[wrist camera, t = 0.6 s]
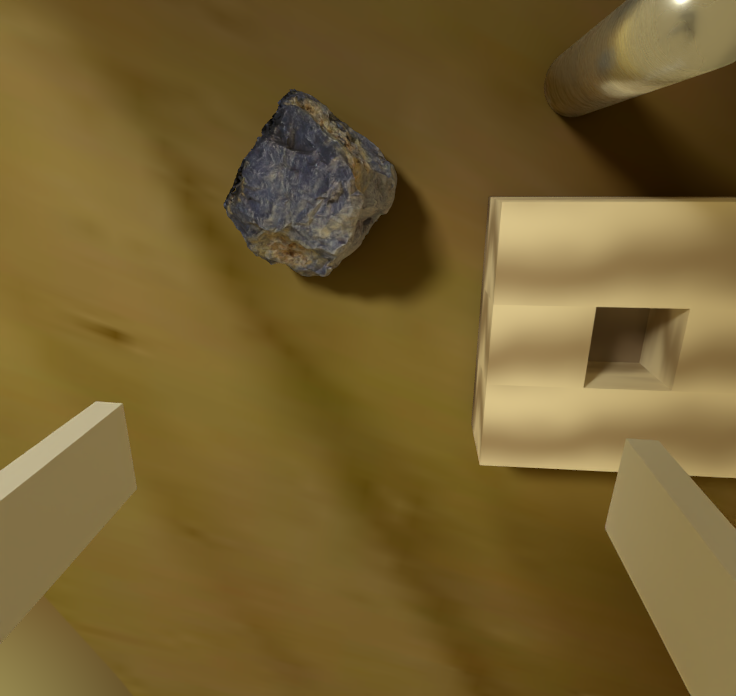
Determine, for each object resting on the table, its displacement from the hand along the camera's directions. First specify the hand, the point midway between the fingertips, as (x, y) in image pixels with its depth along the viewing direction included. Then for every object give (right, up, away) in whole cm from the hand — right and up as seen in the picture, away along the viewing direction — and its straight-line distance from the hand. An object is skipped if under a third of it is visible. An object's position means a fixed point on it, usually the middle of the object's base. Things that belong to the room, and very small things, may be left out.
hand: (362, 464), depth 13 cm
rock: (-3, +14, +23) cm, 27 cm away
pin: (+14, +20, +19) cm, 31 cm away
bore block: (+18, +5, +24) cm, 30 cm away
